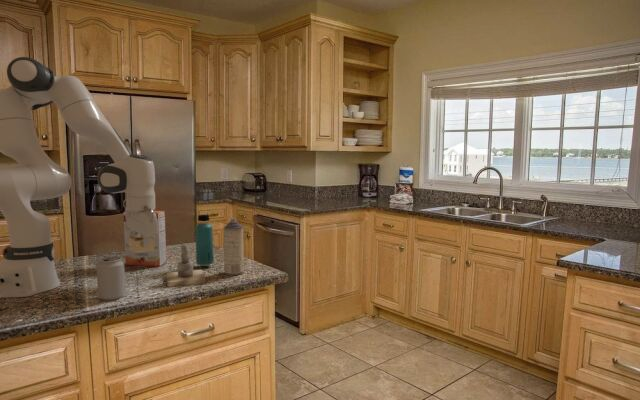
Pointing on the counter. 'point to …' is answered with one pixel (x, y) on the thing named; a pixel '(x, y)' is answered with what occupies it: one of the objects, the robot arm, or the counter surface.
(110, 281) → the can
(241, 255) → the aerosol can
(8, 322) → the counter surface
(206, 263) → the beverage bottle
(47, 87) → the robot arm
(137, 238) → the collar
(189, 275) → the shaft stand
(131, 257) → the cracker box
